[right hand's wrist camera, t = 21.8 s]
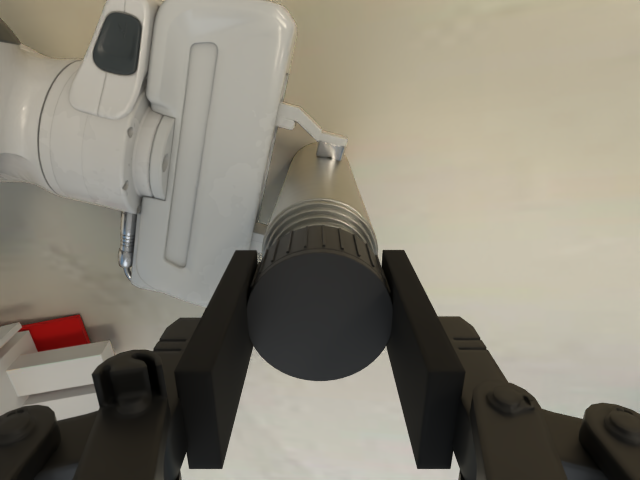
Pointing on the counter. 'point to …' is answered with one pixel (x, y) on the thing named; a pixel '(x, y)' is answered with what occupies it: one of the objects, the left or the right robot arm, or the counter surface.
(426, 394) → the right robot arm
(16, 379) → the toy
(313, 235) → the cap
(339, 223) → the bottle
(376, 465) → the counter surface
